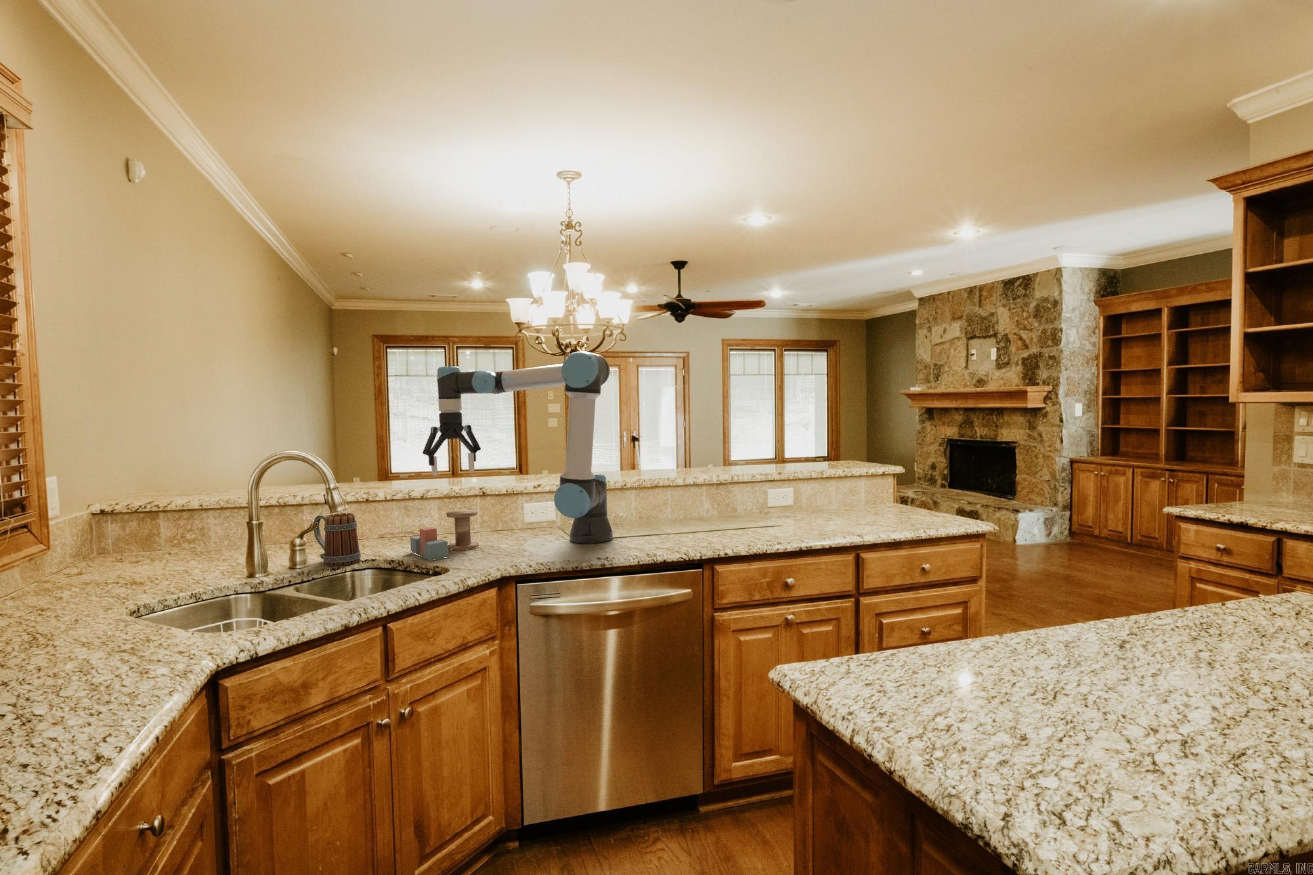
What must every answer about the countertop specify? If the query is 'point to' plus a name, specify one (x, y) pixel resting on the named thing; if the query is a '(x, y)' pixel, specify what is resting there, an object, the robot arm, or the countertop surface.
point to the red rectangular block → (427, 536)
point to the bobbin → (462, 530)
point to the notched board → (430, 548)
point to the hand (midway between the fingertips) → (453, 473)
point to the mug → (338, 539)
